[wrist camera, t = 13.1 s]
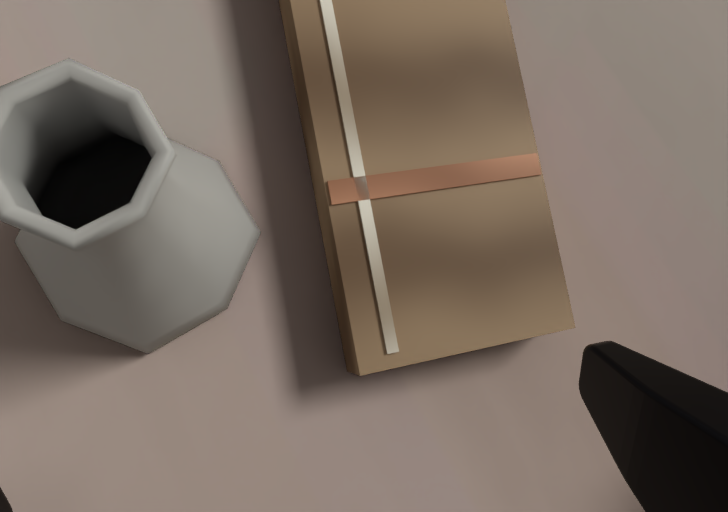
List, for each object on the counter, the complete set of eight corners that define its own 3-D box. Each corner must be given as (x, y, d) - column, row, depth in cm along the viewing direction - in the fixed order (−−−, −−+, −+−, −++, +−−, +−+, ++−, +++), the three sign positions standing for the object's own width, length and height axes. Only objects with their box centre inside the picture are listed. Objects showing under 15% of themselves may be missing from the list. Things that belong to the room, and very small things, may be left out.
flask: (-28, 245, 18) (-302, 153, 9) (138, 91, 20) (63, -126, 11) (151, 393, 19) (79, 458, 9) (296, 232, 21) (361, 149, 11)
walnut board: (545, 327, 23) (577, 327, 21) (347, 371, 21) (360, 376, 19) (454, -107, 24) (475, -146, 22) (259, -105, 22) (263, -149, 20)
